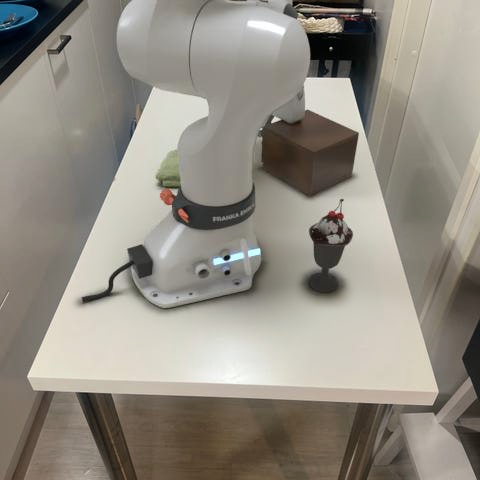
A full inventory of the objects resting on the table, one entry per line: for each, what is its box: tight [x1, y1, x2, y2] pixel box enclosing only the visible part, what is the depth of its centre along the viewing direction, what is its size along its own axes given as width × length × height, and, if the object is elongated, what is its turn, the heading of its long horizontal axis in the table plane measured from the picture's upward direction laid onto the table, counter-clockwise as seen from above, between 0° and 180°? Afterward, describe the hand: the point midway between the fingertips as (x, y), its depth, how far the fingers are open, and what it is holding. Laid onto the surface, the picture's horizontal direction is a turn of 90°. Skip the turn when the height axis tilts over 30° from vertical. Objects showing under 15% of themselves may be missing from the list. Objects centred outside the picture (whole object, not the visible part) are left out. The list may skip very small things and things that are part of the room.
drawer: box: [257, 127, 264, 164], centre depth 106 cm, size 18×11×8 cm, turn 39°
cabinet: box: [262, 109, 360, 197], centre depth 104 cm, size 15×13×10 cm
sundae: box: [308, 198, 354, 293], centre depth 77 cm, size 7×7×15 cm
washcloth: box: [155, 149, 181, 188], centre depth 106 cm, size 13×18×3 cm
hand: (265, 128), depth 111 cm, fingers closed
